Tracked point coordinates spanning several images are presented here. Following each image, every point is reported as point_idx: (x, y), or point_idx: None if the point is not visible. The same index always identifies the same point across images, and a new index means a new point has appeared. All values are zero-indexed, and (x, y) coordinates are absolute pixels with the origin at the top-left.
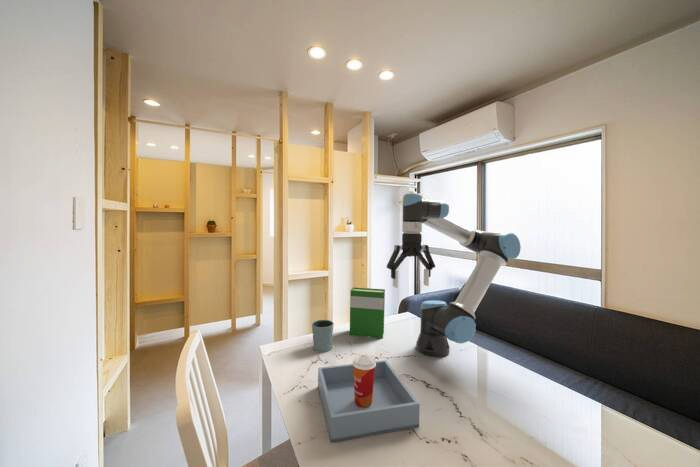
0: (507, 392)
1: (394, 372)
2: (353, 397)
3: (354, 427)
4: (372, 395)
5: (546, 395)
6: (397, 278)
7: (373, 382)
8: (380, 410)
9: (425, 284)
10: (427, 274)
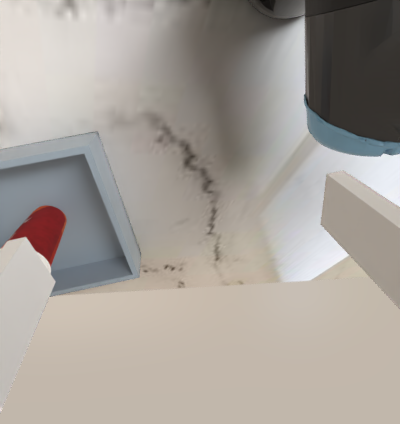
0: (321, 182)
1: (107, 200)
2: (27, 207)
3: None
4: (63, 231)
5: (373, 189)
6: (22, 356)
7: (57, 248)
8: (75, 290)
9: (326, 209)
10: (396, 301)
